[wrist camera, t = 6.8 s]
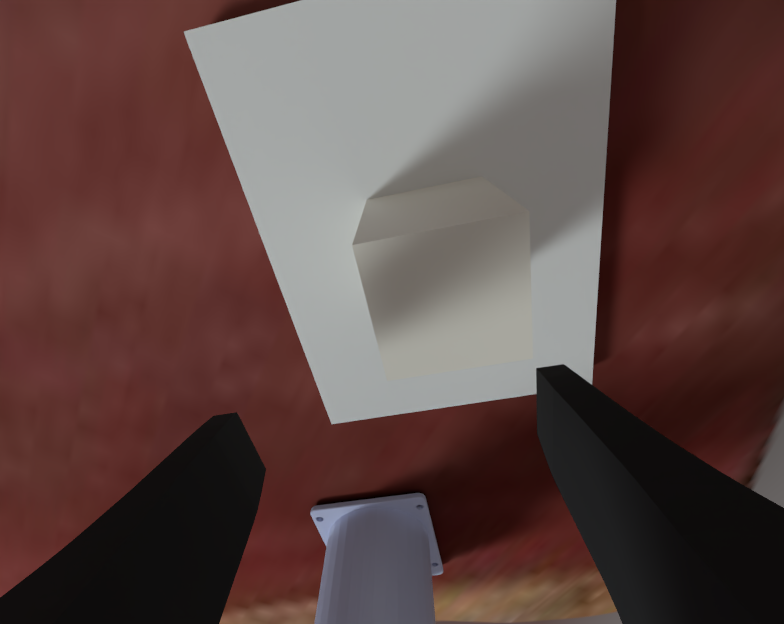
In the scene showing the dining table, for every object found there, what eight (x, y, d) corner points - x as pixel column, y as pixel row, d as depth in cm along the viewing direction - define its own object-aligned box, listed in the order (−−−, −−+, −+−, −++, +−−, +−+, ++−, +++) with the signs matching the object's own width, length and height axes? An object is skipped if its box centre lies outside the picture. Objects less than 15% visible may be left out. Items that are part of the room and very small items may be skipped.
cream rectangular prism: (490, 282, 17) (533, 358, 12) (389, 300, 17) (387, 381, 12) (481, 176, 14) (529, 211, 9) (366, 199, 15) (352, 245, 10)
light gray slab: (581, 371, 20) (640, 452, 16) (334, 408, 22) (317, 493, 17) (601, -69, 12) (740, -190, 7) (200, 38, 13) (90, -4, 9)
